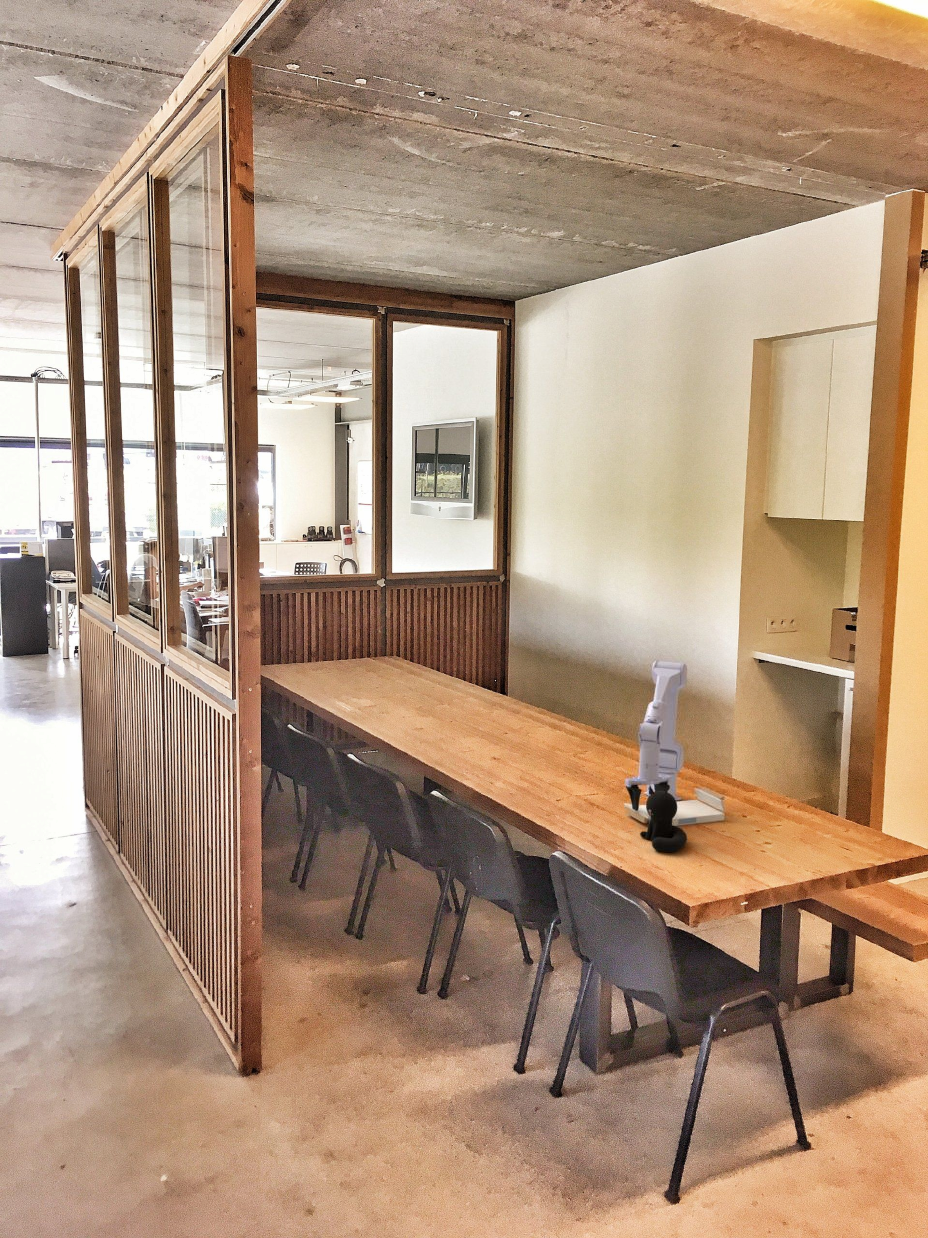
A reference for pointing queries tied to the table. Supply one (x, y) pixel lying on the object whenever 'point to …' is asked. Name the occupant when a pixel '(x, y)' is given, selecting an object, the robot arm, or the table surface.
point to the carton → (693, 813)
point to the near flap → (637, 813)
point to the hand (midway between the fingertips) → (646, 808)
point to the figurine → (663, 822)
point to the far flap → (710, 797)
